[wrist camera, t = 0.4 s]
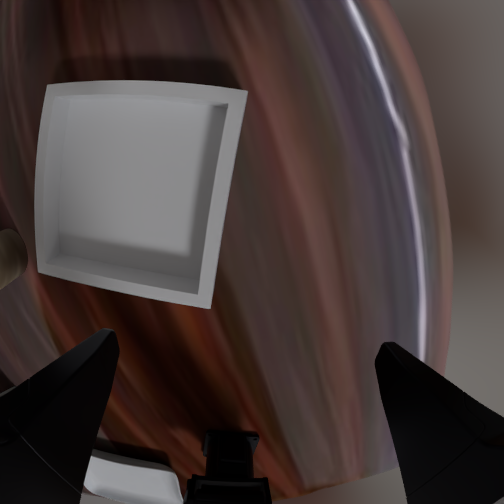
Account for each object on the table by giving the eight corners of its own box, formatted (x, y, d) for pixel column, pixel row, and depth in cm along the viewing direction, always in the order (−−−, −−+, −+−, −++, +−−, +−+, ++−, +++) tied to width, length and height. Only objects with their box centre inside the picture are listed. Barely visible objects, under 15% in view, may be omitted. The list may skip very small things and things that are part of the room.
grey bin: (213, 289, 24) (210, 308, 21) (56, 258, 22) (38, 272, 19) (246, 99, 19) (247, 91, 16) (68, 90, 18) (47, 84, 15)
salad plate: (54, 427, 32) (47, 441, 29) (177, 455, 33) (174, 474, 30) (94, 482, 39) (90, 493, 36) (191, 501, 40) (190, 515, 37)
